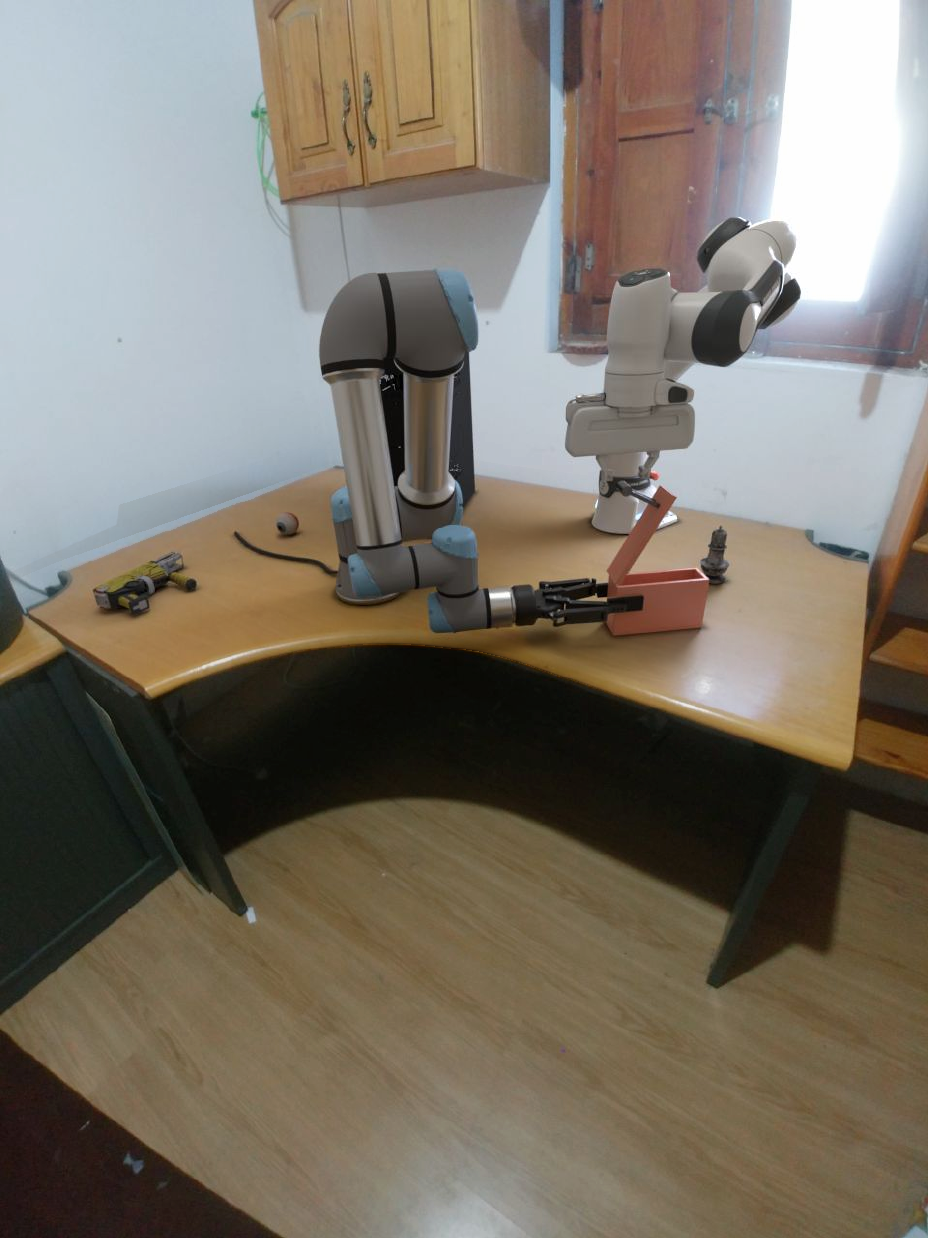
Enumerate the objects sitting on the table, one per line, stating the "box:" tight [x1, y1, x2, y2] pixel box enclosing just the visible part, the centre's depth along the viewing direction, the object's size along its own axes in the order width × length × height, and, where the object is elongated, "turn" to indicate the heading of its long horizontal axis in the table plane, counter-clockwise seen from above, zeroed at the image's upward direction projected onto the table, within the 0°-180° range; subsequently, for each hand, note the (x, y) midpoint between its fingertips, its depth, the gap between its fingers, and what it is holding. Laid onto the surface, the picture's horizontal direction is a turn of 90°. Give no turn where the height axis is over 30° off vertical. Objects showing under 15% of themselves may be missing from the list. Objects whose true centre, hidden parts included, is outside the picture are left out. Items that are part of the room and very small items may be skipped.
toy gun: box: [92, 551, 198, 616], centre depth 137 cm, size 5×24×15 cm
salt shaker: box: [699, 525, 730, 585], centre depth 127 cm, size 6×6×12 cm
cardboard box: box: [379, 351, 476, 510], centre depth 164 cm, size 38×20×45 cm, turn 167°
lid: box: [606, 481, 678, 585], centre depth 104 cm, size 18×5×9 cm
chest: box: [605, 567, 710, 637], centre depth 112 cm, size 17×5×10 cm, turn 95°
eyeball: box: [275, 511, 300, 536], centre depth 163 cm, size 6×6×6 cm
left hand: (636, 595), depth 111 cm, fingers closed on chest, 5 cm apart
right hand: (625, 478), depth 100 cm, fingers open, 5 cm apart
